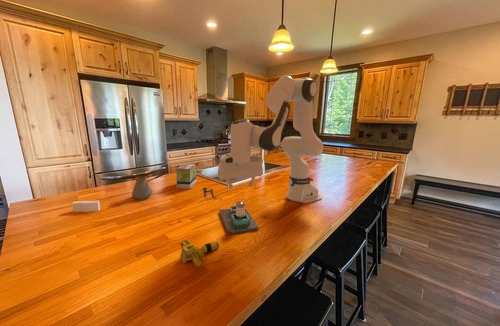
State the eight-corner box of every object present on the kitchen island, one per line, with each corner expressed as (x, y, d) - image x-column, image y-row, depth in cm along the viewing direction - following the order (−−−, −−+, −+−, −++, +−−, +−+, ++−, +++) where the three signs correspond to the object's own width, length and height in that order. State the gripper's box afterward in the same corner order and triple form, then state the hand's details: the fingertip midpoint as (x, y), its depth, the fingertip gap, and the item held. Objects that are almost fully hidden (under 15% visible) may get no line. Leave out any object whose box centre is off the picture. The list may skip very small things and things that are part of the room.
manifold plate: (244, 209, 113) (244, 201, 112) (258, 229, 93) (258, 220, 92) (219, 212, 109) (219, 204, 108) (228, 234, 88) (228, 225, 87)
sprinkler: (229, 246, 73) (188, 263, 64) (229, 257, 74) (189, 275, 64) (205, 230, 88) (169, 241, 79) (205, 238, 89) (170, 251, 80)
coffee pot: (130, 201, 120) (127, 177, 116) (133, 195, 130) (131, 172, 127) (169, 197, 127) (167, 174, 124) (169, 191, 138) (168, 169, 134)
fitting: (243, 219, 98) (243, 200, 96) (245, 223, 95) (245, 203, 93) (235, 221, 97) (235, 201, 95) (237, 225, 93) (237, 204, 91)
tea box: (190, 189, 143) (189, 168, 140) (176, 188, 143) (175, 168, 140) (196, 182, 158) (195, 163, 154) (183, 182, 158) (182, 163, 155)
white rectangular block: (107, 209, 111) (106, 199, 110) (84, 218, 101) (82, 207, 99) (89, 204, 116) (87, 195, 115) (65, 212, 106) (63, 202, 105)
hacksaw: (203, 189, 144) (203, 187, 144) (218, 188, 147) (218, 186, 146) (204, 203, 121) (204, 200, 121) (222, 201, 124) (222, 199, 124)
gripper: (260, 154, 95) (259, 182, 98) (216, 156, 89) (217, 186, 92) (265, 157, 89) (264, 186, 93) (219, 159, 83) (219, 191, 86)
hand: (240, 186), depth 92 cm, fingers open, 8 cm apart
